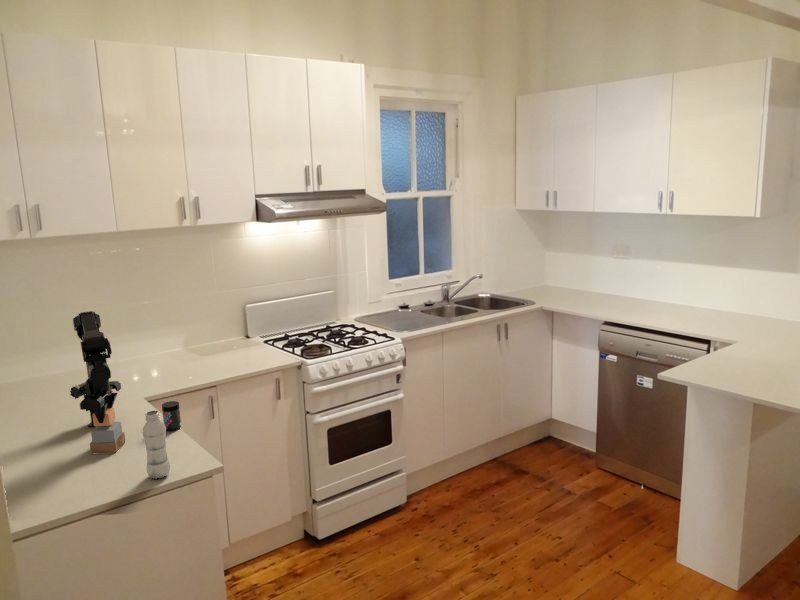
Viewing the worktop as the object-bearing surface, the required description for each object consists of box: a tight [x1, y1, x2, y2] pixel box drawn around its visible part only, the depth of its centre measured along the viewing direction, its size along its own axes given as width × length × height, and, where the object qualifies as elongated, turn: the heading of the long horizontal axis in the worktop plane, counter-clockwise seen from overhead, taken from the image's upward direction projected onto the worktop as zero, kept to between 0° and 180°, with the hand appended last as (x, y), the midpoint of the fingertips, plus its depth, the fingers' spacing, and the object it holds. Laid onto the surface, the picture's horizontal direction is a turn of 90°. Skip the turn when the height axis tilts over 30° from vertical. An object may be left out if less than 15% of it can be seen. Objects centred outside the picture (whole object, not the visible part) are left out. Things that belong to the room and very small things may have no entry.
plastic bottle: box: [142, 410, 171, 480], centre depth 186 cm, size 6×7×20 cm
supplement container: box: [161, 400, 182, 432], centre depth 222 cm, size 6×6×9 cm
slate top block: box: [90, 421, 123, 443], centre depth 207 cm, size 7×7×4 cm
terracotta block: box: [92, 407, 116, 426], centre depth 206 cm, size 5×5×4 cm
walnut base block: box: [89, 431, 127, 455], centre depth 208 cm, size 8×8×4 cm
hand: (104, 419), depth 206 cm, fingers closed on terracotta block, 5 cm apart
